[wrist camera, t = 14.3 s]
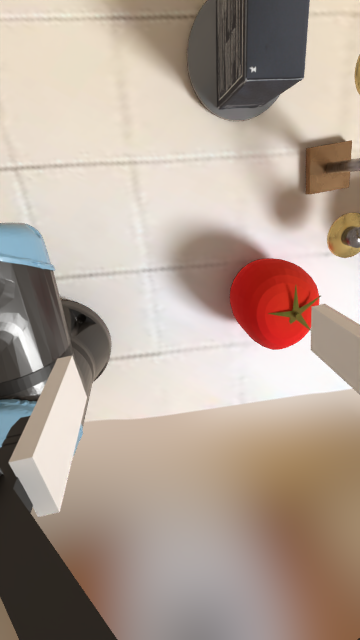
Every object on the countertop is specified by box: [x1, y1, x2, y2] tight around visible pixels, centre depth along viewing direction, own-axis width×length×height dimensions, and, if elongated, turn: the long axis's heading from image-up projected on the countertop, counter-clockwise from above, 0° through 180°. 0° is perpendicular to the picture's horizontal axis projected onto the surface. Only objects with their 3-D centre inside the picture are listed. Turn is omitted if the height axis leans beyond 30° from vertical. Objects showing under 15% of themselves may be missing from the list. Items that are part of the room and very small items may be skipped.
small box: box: [216, 0, 310, 110], centre depth 32 cm, size 11×6×10 cm, turn 4°
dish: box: [187, 0, 279, 121], centre depth 37 cm, size 13×13×1 cm
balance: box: [306, 55, 360, 258], centre depth 37 cm, size 6×24×15 cm, turn 9°
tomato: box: [230, 259, 320, 350], centre depth 45 cm, size 12×14×12 cm
